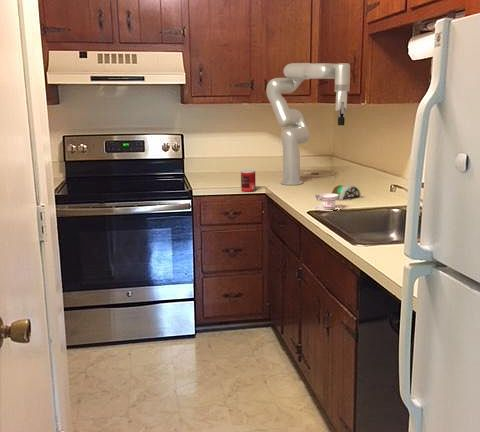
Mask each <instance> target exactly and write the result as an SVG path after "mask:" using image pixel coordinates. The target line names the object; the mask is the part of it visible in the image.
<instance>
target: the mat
mask: <svg viewBox="0 0 480 432" xmlns="http://www.w3.org/2000/svg"><path fill="white" fill-rule="evenodd" d="M314 196H315V199H316V200H317V201H319V200H320V201H323V200H322V199H321V198H319V200H318V197H321V196H320V194H318V195H317V194H315V195H314ZM351 200H352V198H346V199H343V200H341V199H339V198H336V201H351Z"/></svg>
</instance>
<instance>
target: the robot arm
mask: <svg viewBox="0 0 480 432" xmlns="http://www.w3.org/2000/svg"><path fill="white" fill-rule="evenodd" d="M283 75H284V76H285V77H275V78H273V79H270V80H269V81H268V83H266V84H267V85H266V91H265V92H266V97H267V99H268V101H269V102H270V103H269V104H270V105H271V107H272V110H273V112H274V116H275V118H276V120H277V122H278V124H279V126H280V127H282V128H285V129H283V130H282V132H281V136H280V138H281V139H280V140H281V144H282V165H283V166H282V180H280V185H285V186H298V185H302V184H303V180H301V151H300V147H299V145H300V144H304V143H306V142H308V141H309V139H310V132H309V128H308V126H307V124H306V122H305V119H304V116H303V113H302V112H301V111H300V110H298V109H295V108H294V109H290V108H289V106H288V103H287V100H286V99H285V97H284V96H283V95H282V94H291V93H294V91H296V90H297V88H299V86H301V84H302V83H303V82H304V81H305V80H311V79H313V80H314V79H316V80H317V79H319V80H320V79H324V80H325V79H327V80H328V79H329V80H331V79H333V80H334V92H336V93H335V106H334V107H335V108H334V111H336V112H337V114H338V116H337V126H345V120H346V119H345V118H346V117H345V112H346V111H347V106H348V92H350V88H351V87H350V86H351V84H350V83H351V64H350V63H346V62H345V63H343V62H341V63H325V62H321V63H315V62H314V63H311V62H292V63H288V64H287V65H285V66H284V68H283Z"/></svg>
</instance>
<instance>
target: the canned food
mask: <svg viewBox="0 0 480 432" xmlns="http://www.w3.org/2000/svg"><path fill="white" fill-rule="evenodd" d="M256 182H257V181H256V170H255V169H241V170H240V189H241V193H254V192H256Z"/></svg>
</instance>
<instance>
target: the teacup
mask: <svg viewBox="0 0 480 432" xmlns="http://www.w3.org/2000/svg"><path fill="white" fill-rule="evenodd" d="M319 195H320V196H321V197H318V200H317V201H318V202H319V205H316V206H315V209H316V210H318V211H323V212H334V211H333V210H324V209H334V208H337V207H338V208H340V209H341V210H342V209H343V206H340V205H339V204H337V205H336V201H337V200H336V198H337V197H338V196H339V195H338V194H332V193H321V194H319ZM319 198H321V199H322V200H319ZM321 201H322V202H321ZM340 209H338V210H337V211H341V210H340Z"/></svg>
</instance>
